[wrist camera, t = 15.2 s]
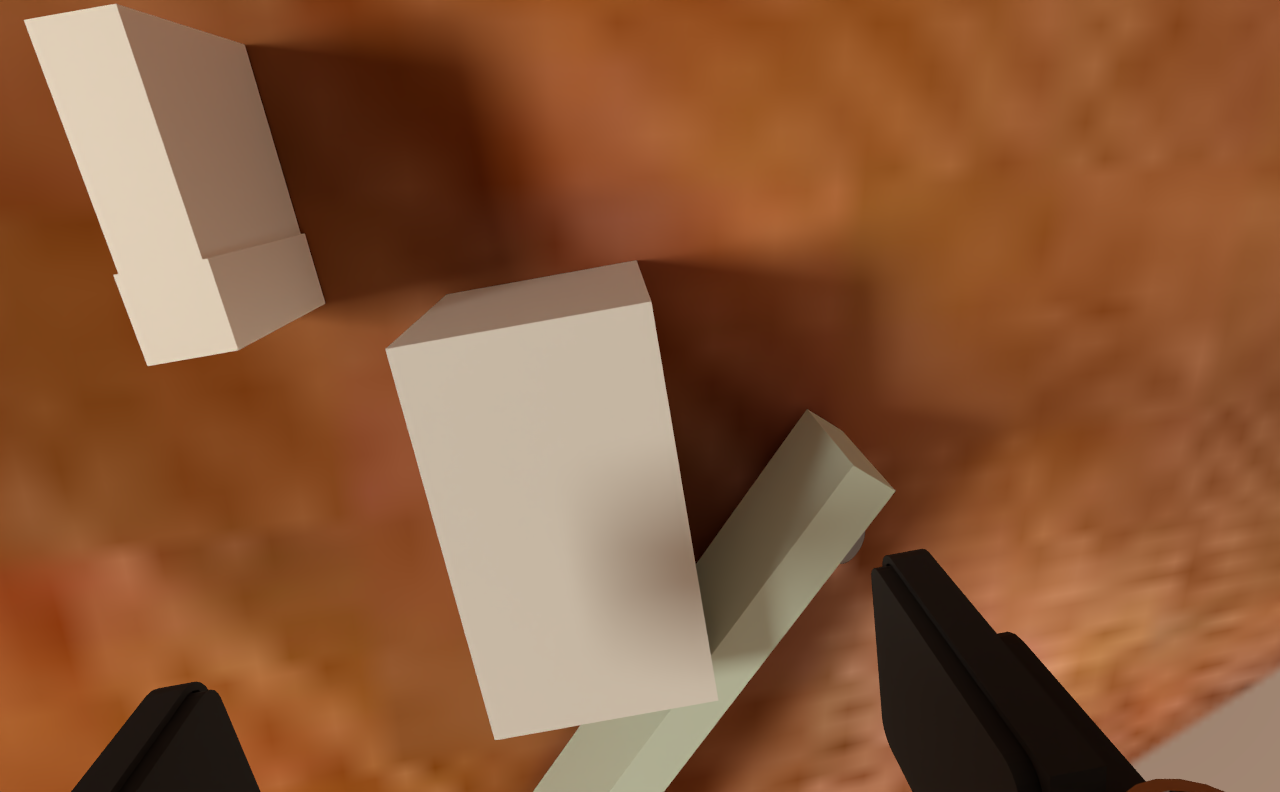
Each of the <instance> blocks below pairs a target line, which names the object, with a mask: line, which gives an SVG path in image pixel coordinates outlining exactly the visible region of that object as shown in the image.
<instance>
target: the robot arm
mask: <svg viewBox="0 0 1280 792" xmlns="http://www.w3.org/2000/svg"><path fill="white" fill-rule="evenodd" d="M871 579H872V592H873V605H874V618H875V631H876V644H877V657H878V670H879V683H880V696H881V709H882V720H883V726H884V730H885V734H886V737H887V740H888V743H889V745H890V748H891V750H892V752H893V754H894V756H895V758H896V760H897V762H898V764H899V766H900V768H901V770H902V772H903V774H904V776H905V778H906V780H907V782H908V784H909V786H910V788H911V790H912V792H1224V791H1221V790H1219V789H1216V788H1213V787H1211V786H1209V785H1206V784H1201V783H1196V782H1191V781H1186V780H1182V779H1155V780H1151V781H1147V782H1146V781H1145V780H1144V779H1143V778H1142V777H1141V776H1140V774H1139V773H1138V772H1137V771H1136V770H1135V769H1134V768H1133V766H1132V765H1131V764H1130V763H1129V762H1128V761H1127V759H1126V758H1125V757H1124V756H1123V755H1122V754H1121V753H1120V751H1119V750H1118V749H1117V748H1116V747H1115V746H1114V745H1113V743H1112V742H1111V741H1110V740H1109V739H1108V738H1107V737H1106V735H1105V734H1104V733H1103V732H1102V731H1101V730H1100V729H1099V727H1098V726H1097V725H1096V724H1095V723H1094V722H1093V721H1092V719H1091V718H1090V717H1089V716H1088V715H1087V714H1086V713H1085V711H1084V710H1083V709H1082V708H1081V707H1080V706H1079V705H1078V703H1077V702H1076V701H1075V700H1074V699H1073V698H1072V697H1071V695H1070V694H1069V693H1068V692H1067V691H1066V690H1065V688H1064V687H1063V686H1062V685H1061V684H1060V683H1059V682H1058V680H1057V679H1056V678H1055V677H1054V676H1053V675H1052V674H1051V672H1050V671H1049V670H1048V669H1047V668H1046V667H1045V666H1044V664H1043V663H1042V662H1041V661H1040V660H1039V659H1038V658H1037V656H1036V655H1035V654H1034V653H1033V652H1032V651H1031V650H1030V648H1029V647H1028V646H1027V645H1026V644H1025V643H1024V642H1023V641H1022V640H1021V639H1020V638H1019V637H1018V636H1017V635H1016V634H1013V633H1010V632H1004V633H999V634H997V633H996V632H995V631H994V630H993V629H992V627H991V626H990V625H989V624H988V623H987V621H986V620H985V619H984V618H983V617H982V615H981V614H980V613H979V612H978V611H977V609H976V608H975V607H974V606H973V605H972V603H971V602H970V601H969V600H968V599H967V597H966V596H965V595H964V594H963V593H962V591H961V590H960V589H959V588H958V587H957V585H956V584H955V583H954V582H953V581H952V579H951V578H950V577H949V576H948V575H947V573H946V572H945V571H944V570H943V569H942V567H941V566H940V565H939V564H938V563H937V561H936V560H935V559H934V558H933V557H932V555H931V554H930V553H929V552H928V551H927V550H926V549H919V550H914V551H908V552H903V553H897V554H892V555H886V556H885V557H884V558H883V562H882V567H879V568H874V569H873V570H872V573H871ZM71 792H260V790H259V787H258V785H257V782H256V780H255V778H254V775H253V773H252V771H251V768H250V766H249V764H248V761H247V759H246V756H245V754H244V752H243V749H242V747H241V745H240V742H239V740H238V737H237V735H236V733H235V730H234V728H233V726H232V723H231V721H230V718H229V716H228V714H227V711H226V709H225V707H224V704H223V702H222V700H221V697H220V696H219V694H218V693H217V692H216V691H215V690H208V689H207V687H206V686H205V685H203V684H202V683H200V682H191V683H186V684H180V685H175V686H169V687H164V688H158V689H155V690H153V691H151V692H150V693H149V694H148V695H147V696H146V697H145V698H144V700H143V701H142V702H141V703H140V705H139V706H138V707H137V709H136V710H135V711H134V712H133V714H132V715H131V716H130V717H129V719H128V720H127V721H126V723H125V724H124V725H123V726H122V728H121V729H120V730H119V731H118V733H117V734H116V735H115V737H114V738H113V739H112V740H111V742H110V743H109V744H108V745H107V747H106V748H105V749H104V751H103V752H102V753H101V754H100V756H99V757H98V758H97V759H96V761H95V762H94V763H93V765H92V766H91V767H90V768H89V770H88V771H87V772H86V773H85V775H84V776H83V777H82V779H81V780H80V781H79V782H78V784H77V785H76V786H75V787H74V789H73V790H72V791H71Z"/></svg>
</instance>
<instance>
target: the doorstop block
mask: <svg viewBox="0 0 1280 792" xmlns="http://www.w3.org/2000/svg"><path fill="white" fill-rule="evenodd" d="M386 353H387V356H388V360H389V364H390V367H391V371H392V374H393V378H394V381H395V385H396V389H397V392H398V396H399V399H400V403H401V406H402V410H403V414H404V417H405V421H406V424H407V428H408V431H409V435H410V439H411V442H412V446H413V449H414V453H415V456H416V460H417V464H418V467H419V471H420V474H421V478H422V481H423V485H424V489H425V492H426V496H427V499H428V503H429V507H430V510H431V514H432V517H433V521H434V524H435V528H436V532H437V535H438V539H439V542H440V546H441V549H442V553H443V557H444V560H445V564H446V567H447V571H448V574H449V578H450V582H451V585H452V589H453V592H454V596H455V599H456V603H457V607H458V610H459V614H460V617H461V621H462V624H463V628H464V632H465V635H466V639H467V642H468V646H469V649H470V653H471V657H472V660H473V664H474V667H475V671H476V674H477V678H478V682H479V685H480V689H481V692H482V696H483V699H484V703H485V707H486V710H487V714H488V717H489V721H490V724H491V728H492V732H493V735H494V739H495V740H499V739H505V738H510V737H516V736H522V735H527V734H533V733H538V732H544V731H550V730H555V729H561V728H567V727H572V726H578V725H583V724H589V723H595V722H600V721H606V720H612V719H617V718H623V717H628V716H634V715H640V714H645V713H651V712H657V711H662V710H668V709H674V708H679V707H685V706H690V705H696V704H702V703H707V702H713V701H718V695H717V689H716V683H715V677H714V671H713V665H712V659H711V653H710V647H709V641H708V635H707V629H706V623H705V618H704V612H703V606H702V600H701V594H700V588H699V582H698V576H697V570H696V564H695V558H694V552H693V546H692V540H691V534H690V528H689V522H688V516H687V511H686V505H685V499H684V493H683V487H682V481H681V475H680V469H679V463H678V457H677V451H676V445H675V439H674V433H673V427H672V421H671V415H670V409H669V404H668V398H667V392H666V386H665V380H664V374H663V368H662V362H661V356H660V350H659V344H658V338H657V332H656V326H655V320H654V314H653V308H652V302H651V299H650V296H649V294H648V291H647V288H646V285H645V283H644V280H643V277H642V274H641V271H640V269H639V266H638V263H637V260H636V261H630V262H625V263H619V264H614V265H608V266H602V267H597V268H591V269H586V270H580V271H575V272H569V273H563V274H558V275H552V276H547V277H541V278H535V279H530V280H524V281H519V282H513V283H508V284H502V285H496V286H491V287H485V288H480V289H474V290H468V291H463V292H457V293H452V294H446V295H445V296H444V297H443V298H442V299H441V300H440V301H438V302H437V303H436V304H435V305H434V306H433V307H432V308H431V309H430V310H428V311H427V312H426V313H425V314H424V315H423V316H422V317H421V318H420V319H418V320H417V321H416V322H415V323H414V324H413V325H412V326H411V327H410V328H408V329H407V330H406V331H405V332H404V333H403V334H402V335H401V336H399V337H398V338H397V339H396V340H395V341H394V342H393V343H392V344H391V345H389V346H388V347H387V348H386Z"/></svg>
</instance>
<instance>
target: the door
mask: <svg viewBox="0 0 1280 792" xmlns="http://www.w3.org/2000/svg"><path fill="white" fill-rule="evenodd" d="M894 492H895V490H894V489H893V487H892V486H891V485H890V484H889V483H888V482H887V481H886V480H885V478H884V477H883V476H882V475H881V474H880V473H879V472H878V471H877V469H876V468H875V467H874V466H873V465H872V464H871V463H870V461H869V460H868V459H867V458H866V457H865V456H864V455H863V454H862V452H861V451H860V450H859V449H858V448H857V447H856V446H855V445H854V443H853V442H852V441H851V440H850V439H849V438H848V437H847V436H846V434H845V433H844V432H843V431H842V430H840V429H839V428H837V427H835V426H834V425H832V424H831V423H829V422H827V421H826V420H824V419H822V418H821V417H819V416H818V415H816V414H814V413H813V412H811V411H809V410H808V409H807V410H806V411H805V413H804V414H803V415H802V417H801V418H800V420H799V421H798V422H797V424H796V425H795V426H794V428H793V429H792V431H791V432H790V433H789V435H788V436H787V438H786V439H785V440H784V442H783V443H782V445H781V446H780V447H779V449H778V450H777V452H776V453H775V454H774V456H773V457H772V459H771V460H770V461H769V463H768V464H767V466H766V467H765V468H764V470H763V471H762V473H761V474H760V475H759V477H758V478H757V480H756V481H755V482H754V484H753V485H752V487H751V488H750V489H749V491H748V492H747V494H746V495H745V496H744V498H743V499H742V501H741V502H740V503H739V505H738V506H737V508H736V509H735V510H734V512H733V513H732V514H731V516H730V517H729V519H728V520H727V521H726V523H725V524H724V526H723V527H722V528H721V530H720V531H719V533H718V534H717V535H716V537H715V538H714V540H713V541H712V542H711V544H710V545H709V547H708V548H707V549H706V551H705V552H704V554H703V555H702V556H701V558H700V559H699V561H698V562H697V563H696V570H697V576H698V582H699V588H700V594H701V600H702V606H703V612H704V618H705V623H706V629H707V635H708V641H709V647H710V653H711V659H712V665H713V671H714V677H715V683H716V689H717V695H718V701H713V702H707V703H702V704H696V705H690V706H685V707H679V708H674V709H668V710H662V711H657V712H651V713H645V714H640V715H634V716H628V717H623V718H617V719H612V720H606V721H600V722H595V723H589V724H583V725H580V727H579V728H578V730H577V731H576V732H575V734H574V735H573V737H572V738H571V739H570V741H569V742H568V744H567V745H566V746H565V748H564V749H563V751H562V752H561V753H560V755H559V756H558V758H557V759H556V760H555V762H554V763H553V765H552V766H551V767H550V769H549V770H548V772H547V773H546V774H545V776H544V777H543V779H542V780H541V781H540V783H539V784H538V785H537V787H536V788H535V790H534V791H533V792H664V791H665V790H666V788H667V787H668V786H669V784H670V783H671V782H672V780H673V779H674V778H675V777H676V775H677V774H678V773H679V771H680V770H681V769H682V767H683V766H684V765H685V764H686V762H687V761H688V760H689V758H690V757H691V756H692V755H693V753H694V752H695V751H696V749H697V748H698V747H699V745H700V744H701V743H702V742H703V740H704V739H705V738H706V736H707V735H708V734H709V732H710V731H711V730H712V729H713V727H714V726H715V725H716V723H717V722H718V721H719V719H720V718H721V717H722V716H723V714H724V713H725V712H726V710H727V709H728V708H729V706H730V705H731V704H732V703H733V701H734V700H735V699H736V697H737V696H738V695H739V694H740V692H741V691H742V690H743V688H744V687H745V686H746V684H747V683H748V682H749V681H750V679H751V678H752V677H753V675H754V674H755V673H756V671H757V670H758V669H759V668H760V666H761V665H762V664H763V662H764V661H765V660H766V658H767V657H768V656H769V655H770V653H771V652H772V651H773V649H774V648H775V647H776V645H777V644H778V643H779V642H780V640H781V639H782V638H783V636H784V635H785V634H786V633H787V631H788V630H789V629H790V627H791V626H792V625H793V623H794V622H795V621H796V620H797V618H798V617H799V616H800V614H801V613H802V612H803V610H804V609H805V608H806V607H807V605H808V604H809V603H810V601H811V600H812V599H813V597H814V596H815V595H816V594H817V592H818V591H819V590H820V588H821V587H822V586H823V585H824V583H825V582H826V581H827V579H828V578H829V577H830V575H831V574H832V573H833V572H834V570H835V569H836V568H837V566H838V565H839V564H844V563H846V562H848V561H850V560H851V559H852V558H853V557H854V556H855V555H856V554H857V552H858V551H859V549H860V548H861V546H862V543H863V541H864V537H865V530H866V529H867V527H868V526H869V525H870V524H871V522H872V521H873V520H874V518H875V517H876V516H877V514H878V513H879V512H880V511H881V509H882V508H883V507H884V505H885V504H886V503H887V501H888V500H889V499H890V498H891V496H892V495H893V494H894Z"/></svg>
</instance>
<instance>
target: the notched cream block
mask: <svg viewBox="0 0 1280 792" xmlns="http://www.w3.org/2000/svg"><path fill="white" fill-rule="evenodd" d="M24 22H25V24H26V27H27V30H28V32H29V35H30V38H31V40H32V43H33V46H34V49H35V51H36V54H37V57H38V59H39V62H40V65H41V67H42V70H43V73H44V75H45V78H46V81H47V83H48V86H49V89H50V91H51V94H52V97H53V99H54V102H55V105H56V107H57V110H58V113H59V116H60V118H61V121H62V124H63V126H64V129H65V132H66V134H67V137H68V140H69V142H70V145H71V148H72V150H73V153H74V156H75V158H76V161H77V164H78V166H79V169H80V172H81V174H82V177H83V180H84V183H85V185H86V188H87V191H88V193H89V196H90V199H91V201H92V204H93V207H94V209H95V212H96V215H97V217H98V220H99V223H100V225H101V228H102V231H103V233H104V236H105V239H106V241H107V244H108V247H109V250H110V252H111V255H112V258H113V260H114V263H115V266H116V268H117V271H118V274H116V275H114V278H115V281H116V283H117V286H118V289H119V291H120V294H121V297H122V299H123V302H124V305H125V307H126V310H127V312H128V315H129V318H130V320H131V323H132V326H133V328H134V331H135V334H136V336H137V339H138V342H139V344H140V347H141V350H142V352H143V355H144V358H145V360H146V363H147V366H151V365H157V364H162V363H168V362H174V361H180V360H185V359H191V358H197V357H202V356H208V355H214V354H220V353H225V352H231V351H237V350H240V349H242V348H243V347H245V346H247V345H249V344H251V343H253V342H255V341H257V340H258V339H260V338H262V337H264V336H266V335H268V334H270V333H271V332H273V331H275V330H277V329H279V328H281V327H283V326H285V325H286V324H288V323H290V322H292V321H294V320H296V319H298V318H299V317H301V316H303V315H305V314H307V313H309V312H311V311H313V310H314V309H316V308H318V307H320V306H322V305H324V304H325V300H324V297H323V294H322V290H321V287H320V283H319V280H318V277H317V273H316V270H315V266H314V263H313V260H312V256H311V253H310V249H309V246H308V243H307V239H306V236H305V233H304V234H301V233H300V230H299V226H298V223H297V220H296V216H295V213H294V209H293V206H292V203H291V199H290V196H289V193H288V189H287V186H286V182H285V179H284V176H283V172H282V169H281V166H280V162H279V159H278V155H277V152H276V149H275V145H274V142H273V139H272V135H271V132H270V128H269V125H268V122H267V118H266V115H265V112H264V108H263V105H262V101H261V98H260V95H259V91H258V88H257V85H256V81H255V78H254V74H253V71H252V68H251V64H250V61H249V58H248V54H247V51H246V47H245V45H244V44H241V43H238V42H235V41H232V40H229V39H225V38H222V37H219V36H216V35H213V34H210V33H207V32H203V31H200V30H197V29H194V28H191V27H188V26H184V25H181V24H178V23H175V22H172V21H169V20H166V19H162V18H159V17H156V16H153V15H150V14H147V13H143V12H140V11H137V10H134V9H131V8H128V7H124V6H121V5H118V4H112V5H106V6H101V7H95V8H89V9H84V10H78V11H72V12H67V13H61V14H55V15H49V16H44V17H38V18H32V19H27V20H24Z"/></svg>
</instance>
